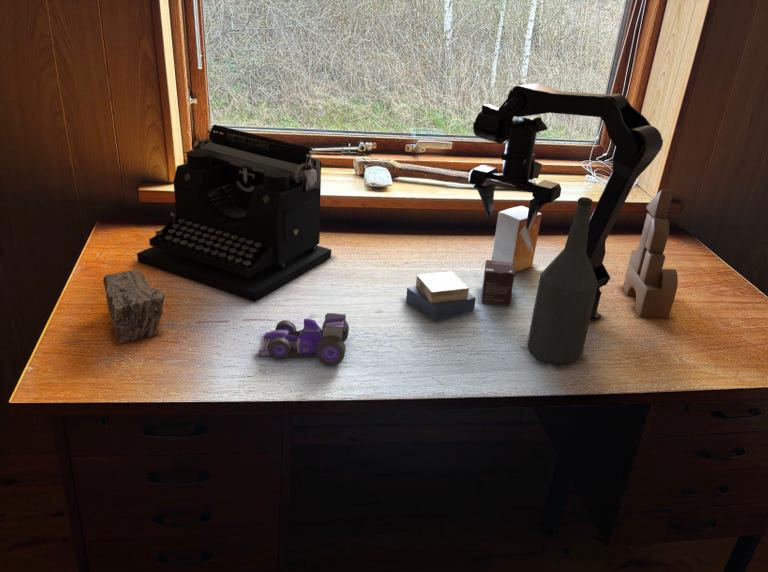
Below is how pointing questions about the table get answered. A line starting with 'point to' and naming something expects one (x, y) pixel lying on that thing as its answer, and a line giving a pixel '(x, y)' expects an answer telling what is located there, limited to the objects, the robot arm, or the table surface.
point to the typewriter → (242, 215)
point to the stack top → (442, 287)
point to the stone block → (133, 305)
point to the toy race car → (309, 340)
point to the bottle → (565, 298)
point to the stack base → (439, 305)
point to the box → (498, 282)
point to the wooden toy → (652, 263)
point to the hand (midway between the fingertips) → (508, 222)
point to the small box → (515, 238)
